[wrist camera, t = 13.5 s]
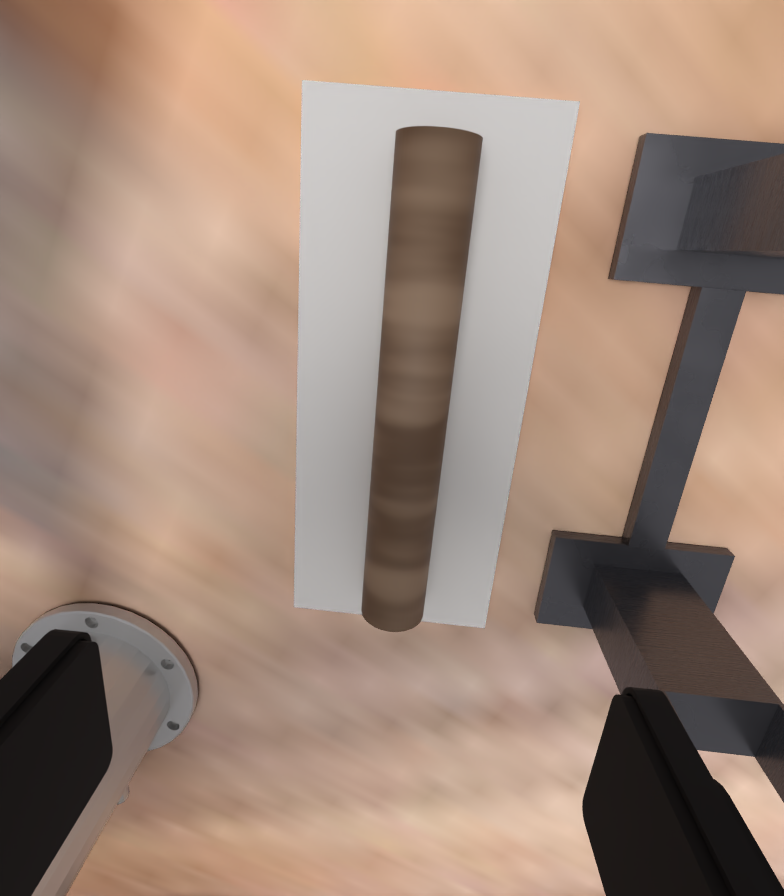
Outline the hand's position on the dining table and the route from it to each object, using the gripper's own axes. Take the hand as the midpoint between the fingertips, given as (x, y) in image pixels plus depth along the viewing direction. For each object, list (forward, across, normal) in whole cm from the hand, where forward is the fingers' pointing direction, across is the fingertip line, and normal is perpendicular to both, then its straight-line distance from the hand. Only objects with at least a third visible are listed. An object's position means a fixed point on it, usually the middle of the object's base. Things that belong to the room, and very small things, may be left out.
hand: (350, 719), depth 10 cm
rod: (+20, -1, -1) cm, 20 cm away
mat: (+20, -1, -1) cm, 20 cm away
